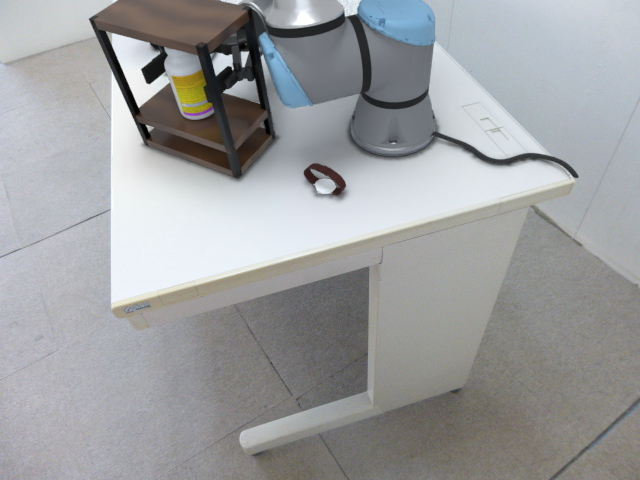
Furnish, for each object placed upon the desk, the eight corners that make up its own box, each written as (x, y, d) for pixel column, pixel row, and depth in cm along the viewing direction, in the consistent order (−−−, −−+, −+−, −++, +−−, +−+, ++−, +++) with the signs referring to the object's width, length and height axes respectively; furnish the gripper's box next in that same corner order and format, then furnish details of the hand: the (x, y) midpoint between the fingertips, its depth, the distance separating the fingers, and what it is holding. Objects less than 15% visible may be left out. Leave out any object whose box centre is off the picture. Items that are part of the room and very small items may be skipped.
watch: (314, 171, 86) (302, 187, 85) (307, 155, 82) (294, 172, 81) (351, 189, 83) (338, 206, 82) (345, 173, 79) (332, 190, 78)
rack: (184, 108, 101) (142, -16, 82) (275, 137, 93) (251, 7, 74) (144, 144, 95) (88, 18, 76) (238, 178, 87) (201, 47, 68)
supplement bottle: (224, 111, 88) (206, 42, 78) (190, 126, 86) (167, 58, 76) (208, 93, 91) (188, 26, 81) (175, 108, 89) (150, 40, 79)
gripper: (309, 55, 91) (241, 123, 80) (202, 30, 100) (128, 88, 89) (305, 15, 85) (231, 82, 74) (192, -8, 94) (111, 49, 83)
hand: (175, 86), depth 81 cm, fingers open, 12 cm apart
